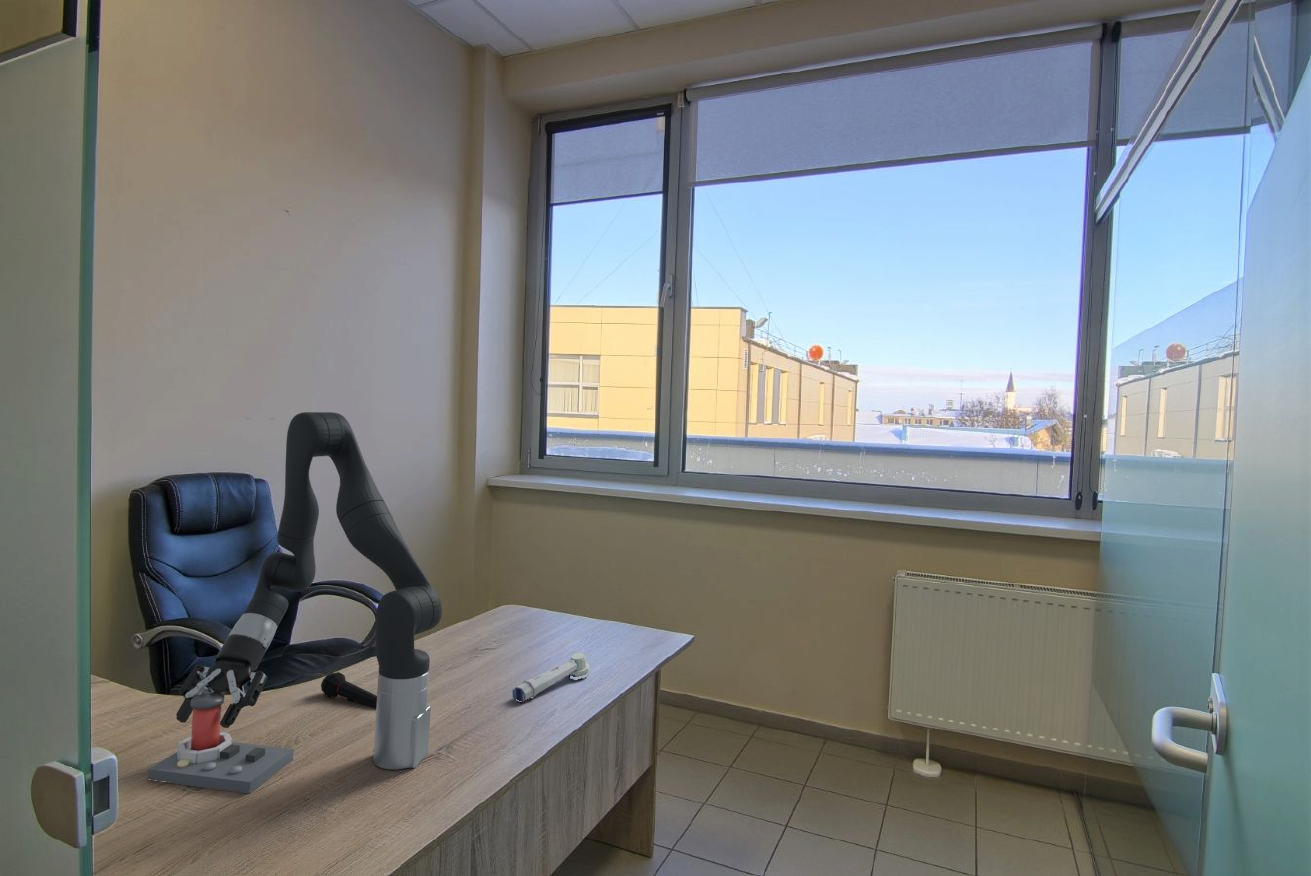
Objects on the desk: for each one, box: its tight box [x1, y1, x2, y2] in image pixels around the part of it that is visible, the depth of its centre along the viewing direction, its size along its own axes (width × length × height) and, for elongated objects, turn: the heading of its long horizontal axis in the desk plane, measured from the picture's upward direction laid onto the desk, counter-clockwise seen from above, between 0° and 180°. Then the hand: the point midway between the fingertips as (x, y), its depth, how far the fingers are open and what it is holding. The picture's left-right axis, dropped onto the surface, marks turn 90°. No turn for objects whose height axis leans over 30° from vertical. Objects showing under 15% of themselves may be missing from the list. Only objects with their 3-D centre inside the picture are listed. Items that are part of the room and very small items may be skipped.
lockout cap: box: [190, 692, 225, 751], centre depth 127 cm, size 5×5×10 cm
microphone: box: [320, 671, 377, 708], centre depth 157 cm, size 6×6×20 cm
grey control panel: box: [147, 731, 294, 794], centre depth 125 cm, size 19×12×4 cm, turn 84°
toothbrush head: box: [511, 652, 590, 703], centre depth 173 cm, size 5×7×25 cm
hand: (202, 723), depth 126 cm, fingers open, 8 cm apart
